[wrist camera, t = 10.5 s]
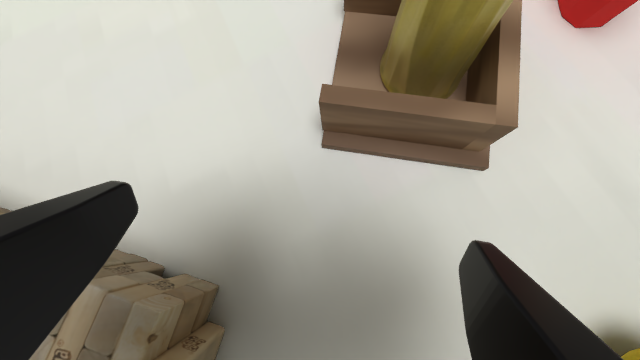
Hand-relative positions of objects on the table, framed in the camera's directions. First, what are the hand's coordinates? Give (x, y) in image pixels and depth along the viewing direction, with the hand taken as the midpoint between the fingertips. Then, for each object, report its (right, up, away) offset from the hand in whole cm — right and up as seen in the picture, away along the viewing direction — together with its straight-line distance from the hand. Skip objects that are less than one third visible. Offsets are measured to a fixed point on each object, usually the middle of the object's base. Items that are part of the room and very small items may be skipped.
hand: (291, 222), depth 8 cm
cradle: (+7, +10, +16) cm, 20 cm away
